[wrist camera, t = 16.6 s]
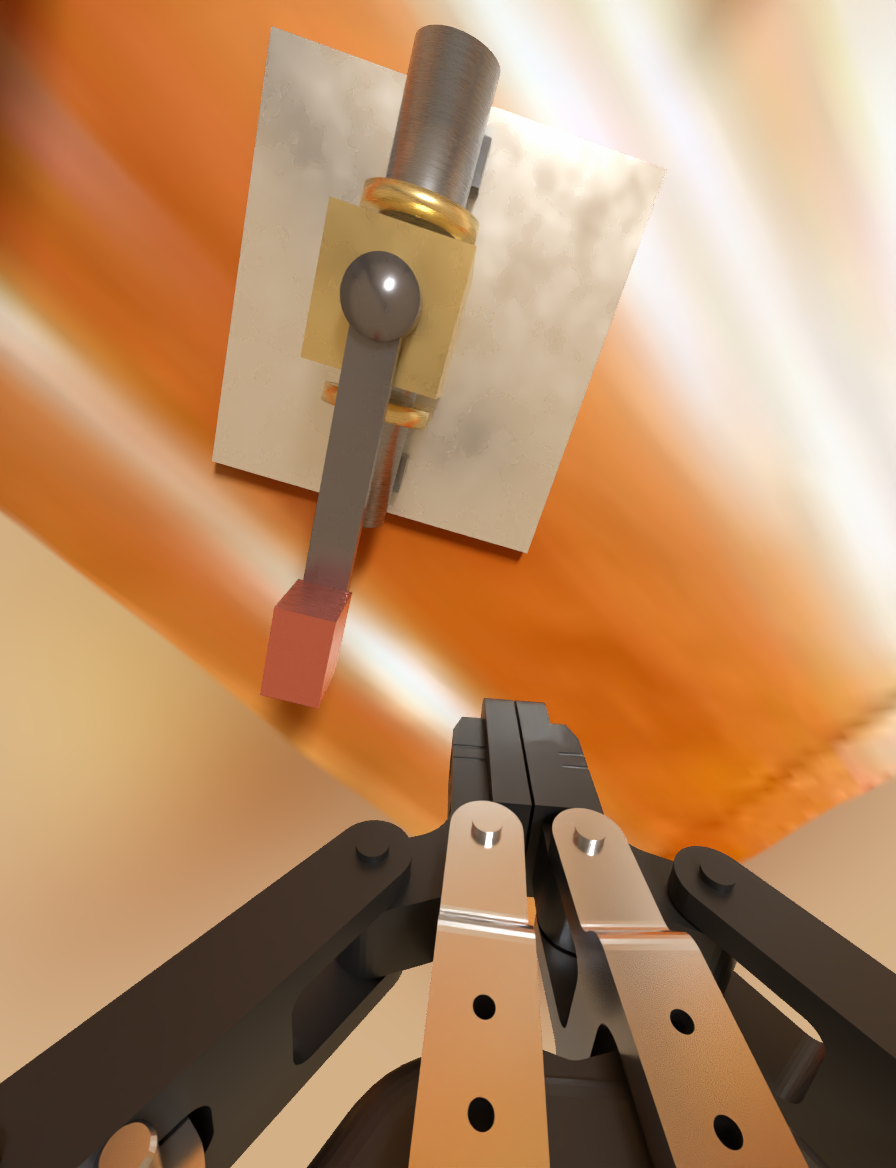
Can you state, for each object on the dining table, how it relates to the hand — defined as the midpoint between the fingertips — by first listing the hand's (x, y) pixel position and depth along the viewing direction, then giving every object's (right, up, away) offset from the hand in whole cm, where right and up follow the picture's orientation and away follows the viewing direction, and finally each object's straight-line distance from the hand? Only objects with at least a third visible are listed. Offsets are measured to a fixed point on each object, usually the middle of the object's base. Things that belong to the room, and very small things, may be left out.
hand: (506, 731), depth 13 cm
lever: (-7, +9, +15) cm, 19 cm away
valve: (-4, +20, +21) cm, 30 cm away
